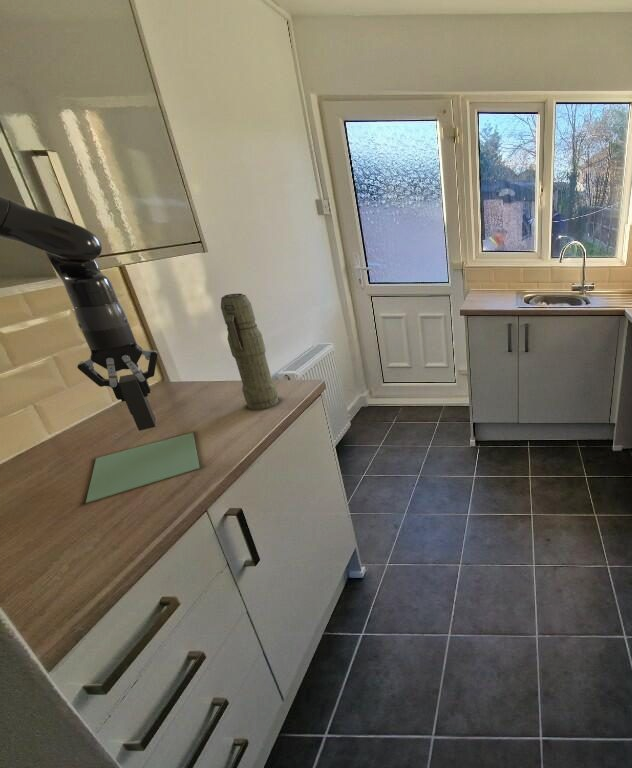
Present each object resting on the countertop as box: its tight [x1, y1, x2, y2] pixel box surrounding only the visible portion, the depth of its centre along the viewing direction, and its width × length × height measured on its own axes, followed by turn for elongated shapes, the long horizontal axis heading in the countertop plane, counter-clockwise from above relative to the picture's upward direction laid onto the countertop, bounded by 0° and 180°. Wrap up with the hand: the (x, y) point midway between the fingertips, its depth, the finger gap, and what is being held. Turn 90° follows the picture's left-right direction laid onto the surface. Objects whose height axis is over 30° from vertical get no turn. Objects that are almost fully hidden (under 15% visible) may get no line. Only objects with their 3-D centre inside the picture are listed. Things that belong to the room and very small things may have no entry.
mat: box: [85, 432, 201, 504], centre depth 102 cm, size 20×22×1 cm
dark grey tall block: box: [118, 373, 156, 432], centre depth 95 cm, size 3×5×12 cm, turn 39°
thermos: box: [220, 293, 280, 411], centre depth 125 cm, size 9×12×35 cm
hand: (135, 397), depth 95 cm, fingers closed on dark grey tall block, 3 cm apart
